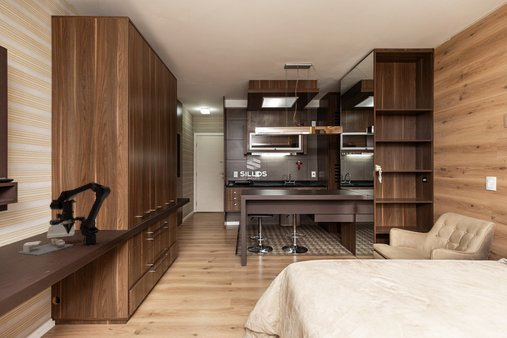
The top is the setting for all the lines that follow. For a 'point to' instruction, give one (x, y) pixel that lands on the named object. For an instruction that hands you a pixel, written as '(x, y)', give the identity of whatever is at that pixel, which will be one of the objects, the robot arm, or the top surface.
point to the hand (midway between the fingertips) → (68, 233)
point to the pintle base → (41, 248)
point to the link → (57, 242)
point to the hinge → (59, 231)
